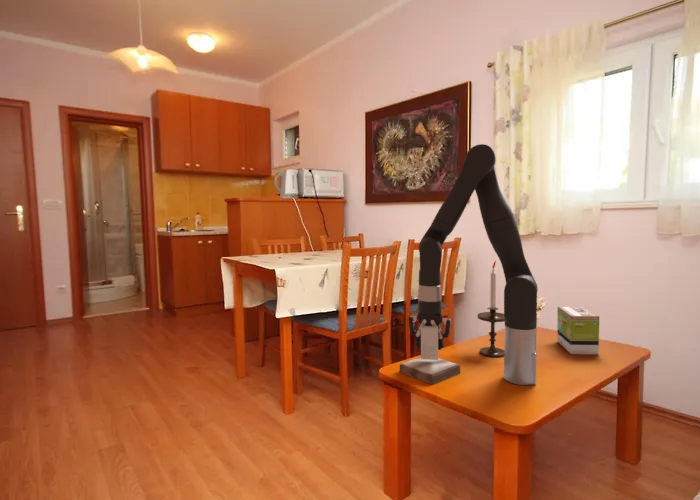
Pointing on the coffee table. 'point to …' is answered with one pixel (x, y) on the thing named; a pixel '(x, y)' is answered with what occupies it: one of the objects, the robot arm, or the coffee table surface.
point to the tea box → (578, 330)
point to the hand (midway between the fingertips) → (429, 348)
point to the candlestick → (492, 320)
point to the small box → (429, 342)
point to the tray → (430, 369)
